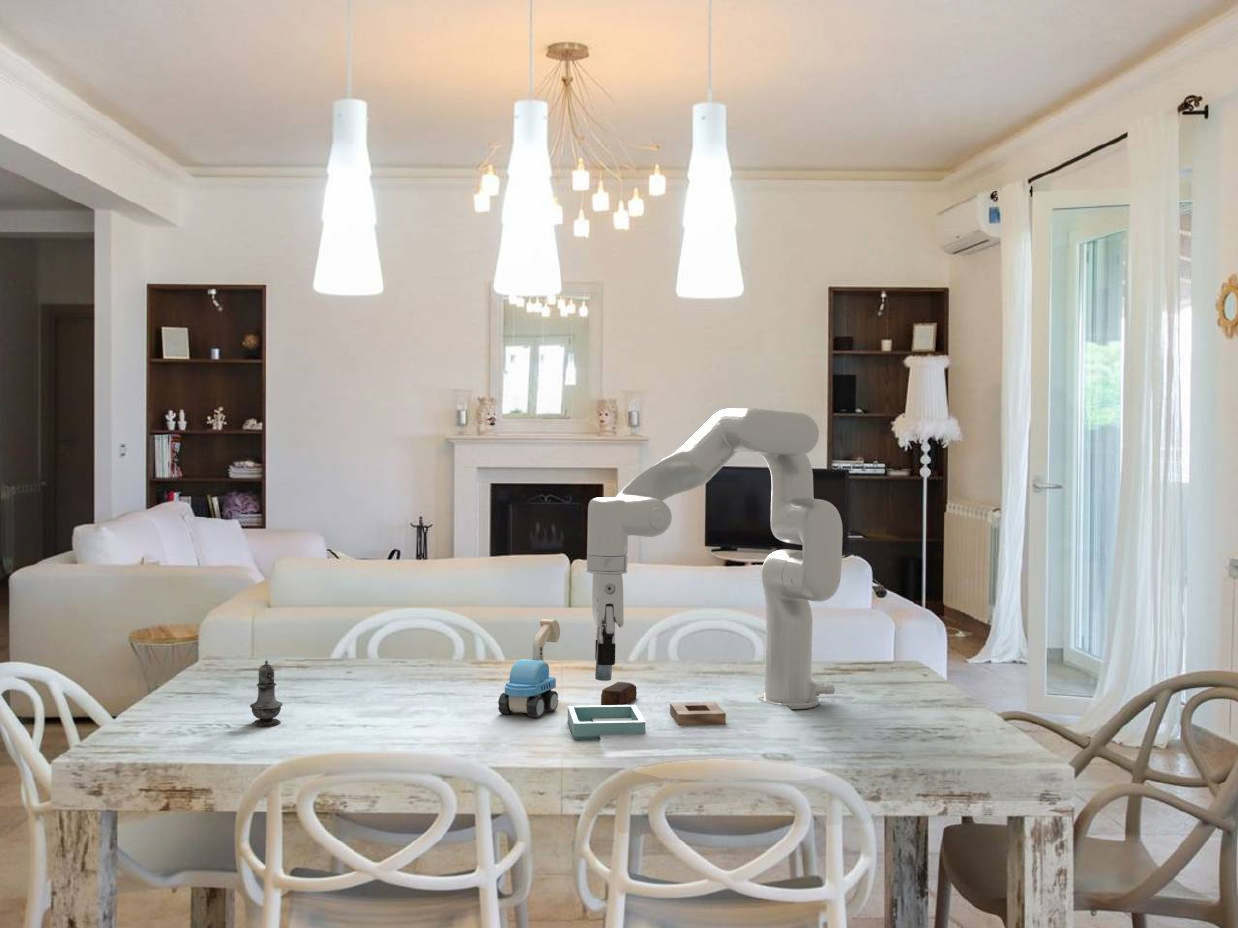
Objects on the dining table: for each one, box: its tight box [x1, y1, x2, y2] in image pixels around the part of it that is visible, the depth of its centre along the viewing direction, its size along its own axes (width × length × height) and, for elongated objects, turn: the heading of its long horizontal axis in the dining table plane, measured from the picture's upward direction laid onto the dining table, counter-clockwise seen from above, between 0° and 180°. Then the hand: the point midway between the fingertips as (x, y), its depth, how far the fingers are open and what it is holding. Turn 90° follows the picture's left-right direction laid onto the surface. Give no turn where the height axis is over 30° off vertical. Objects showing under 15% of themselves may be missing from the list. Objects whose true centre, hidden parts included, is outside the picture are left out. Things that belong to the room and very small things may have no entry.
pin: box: [594, 624, 613, 682], centre depth 215 cm, size 3×3×10 cm
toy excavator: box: [497, 618, 561, 718], centre depth 231 cm, size 9×17×17 cm, turn 155°
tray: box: [567, 704, 646, 741], centre depth 216 cm, size 13×13×3 cm
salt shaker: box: [249, 659, 283, 728], centre depth 217 cm, size 6×6×12 cm
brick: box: [600, 681, 638, 706], centre depth 233 cm, size 11×4×5 cm, turn 160°
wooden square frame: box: [669, 701, 727, 726], centre depth 221 cm, size 9×9×3 cm
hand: (605, 661), depth 215 cm, fingers closed on pin, 3 cm apart
